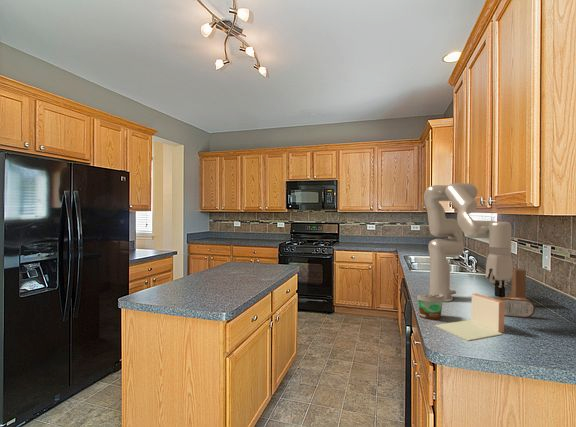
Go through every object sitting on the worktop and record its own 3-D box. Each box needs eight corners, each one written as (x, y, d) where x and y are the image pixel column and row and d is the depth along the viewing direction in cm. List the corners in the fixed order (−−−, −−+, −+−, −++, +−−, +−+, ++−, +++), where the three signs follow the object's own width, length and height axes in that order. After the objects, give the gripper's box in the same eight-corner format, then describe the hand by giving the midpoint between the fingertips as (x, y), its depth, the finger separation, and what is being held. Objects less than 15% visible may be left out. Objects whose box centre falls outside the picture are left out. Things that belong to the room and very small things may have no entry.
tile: (475, 321, 131) (476, 293, 131) (503, 332, 120) (504, 301, 120) (470, 322, 130) (471, 293, 130) (498, 333, 119) (499, 302, 119)
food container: (426, 322, 130) (426, 298, 130) (416, 317, 136) (417, 294, 136) (450, 319, 133) (451, 296, 133) (440, 314, 139) (440, 292, 139)
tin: (532, 316, 138) (532, 297, 137) (536, 319, 134) (536, 300, 134) (493, 313, 141) (494, 295, 141) (496, 316, 138) (496, 297, 138)
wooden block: (506, 301, 161) (507, 266, 160) (516, 301, 159) (517, 266, 159) (514, 306, 152) (515, 269, 152) (525, 307, 151) (526, 270, 150)
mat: (467, 320, 132) (467, 320, 132) (502, 334, 118) (502, 333, 118) (435, 326, 126) (435, 325, 126) (468, 341, 112) (468, 340, 112)
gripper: (503, 250, 133) (503, 292, 133) (478, 251, 128) (478, 295, 128) (522, 252, 126) (521, 297, 126) (495, 253, 121) (495, 300, 121)
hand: (499, 296), depth 127 cm, fingers closed
